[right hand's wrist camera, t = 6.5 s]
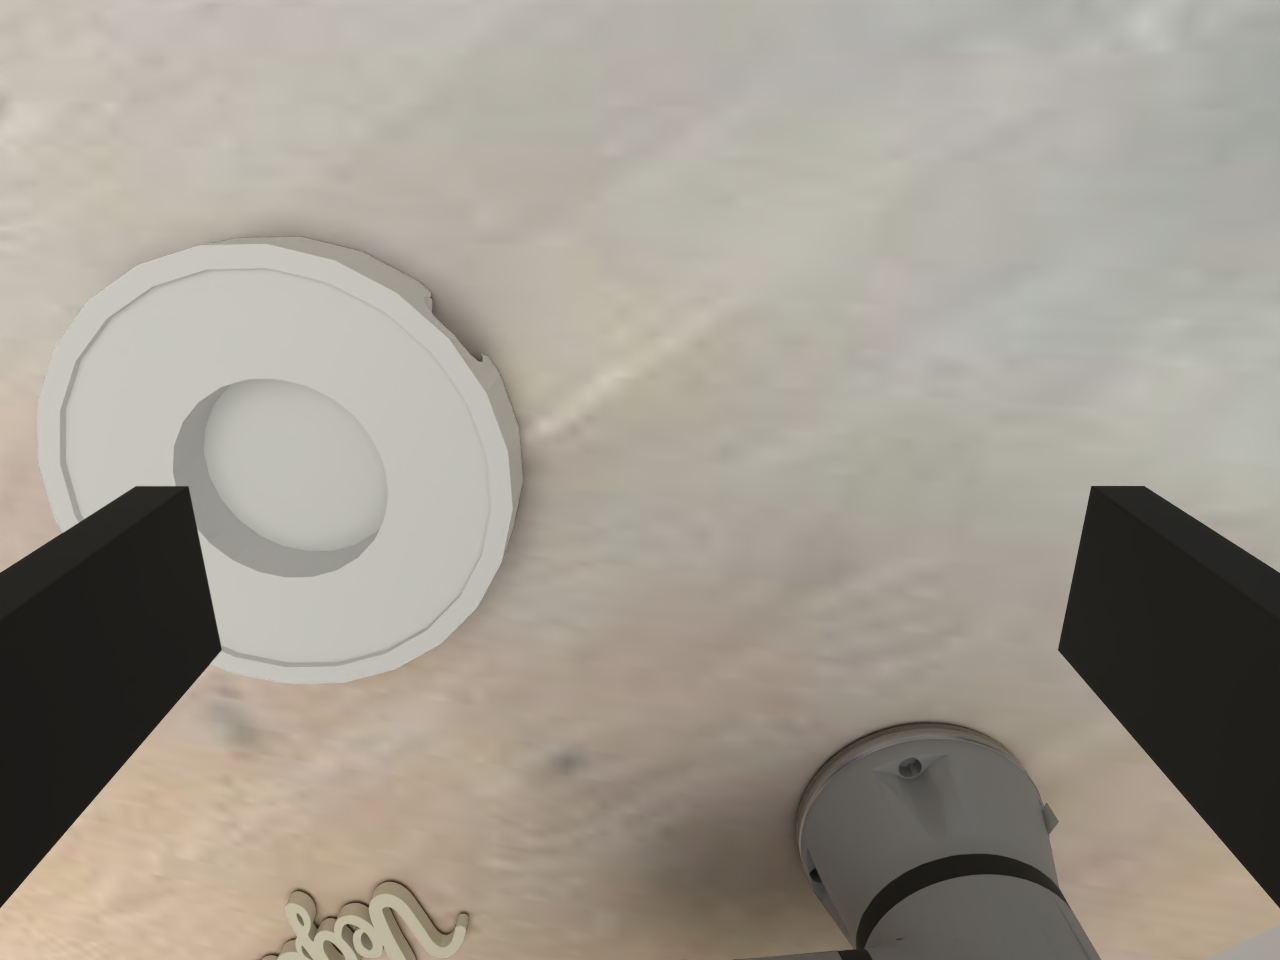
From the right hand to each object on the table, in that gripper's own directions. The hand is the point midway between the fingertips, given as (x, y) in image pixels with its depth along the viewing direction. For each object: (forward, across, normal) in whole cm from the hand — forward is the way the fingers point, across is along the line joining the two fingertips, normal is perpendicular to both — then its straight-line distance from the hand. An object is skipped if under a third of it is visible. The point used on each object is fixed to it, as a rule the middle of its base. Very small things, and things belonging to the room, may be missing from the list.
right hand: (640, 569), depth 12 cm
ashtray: (+32, +18, +9) cm, 37 cm away
